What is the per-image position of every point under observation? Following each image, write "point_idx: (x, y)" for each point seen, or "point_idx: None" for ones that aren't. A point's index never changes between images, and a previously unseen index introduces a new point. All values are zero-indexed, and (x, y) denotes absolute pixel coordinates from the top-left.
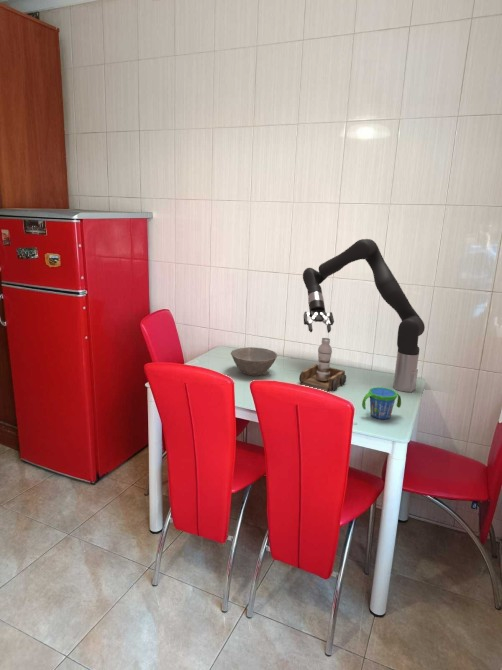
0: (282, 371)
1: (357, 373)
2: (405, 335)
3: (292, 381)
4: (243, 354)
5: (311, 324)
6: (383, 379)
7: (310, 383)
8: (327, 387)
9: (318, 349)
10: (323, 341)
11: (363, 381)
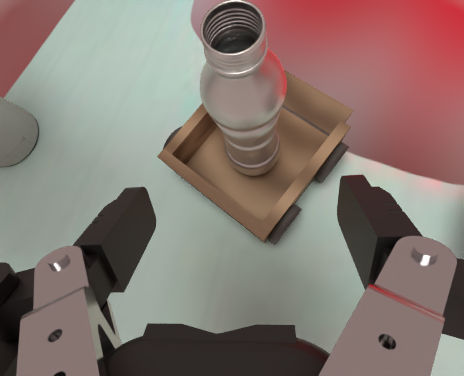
0: None
1: None
2: None
3: (366, 174)
4: None
5: (378, 223)
6: (27, 216)
7: (305, 122)
8: None
9: (285, 77)
10: (257, 20)
11: (102, 192)
